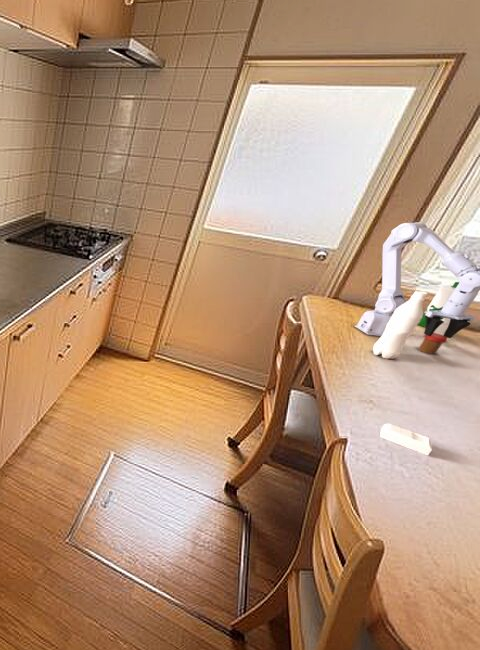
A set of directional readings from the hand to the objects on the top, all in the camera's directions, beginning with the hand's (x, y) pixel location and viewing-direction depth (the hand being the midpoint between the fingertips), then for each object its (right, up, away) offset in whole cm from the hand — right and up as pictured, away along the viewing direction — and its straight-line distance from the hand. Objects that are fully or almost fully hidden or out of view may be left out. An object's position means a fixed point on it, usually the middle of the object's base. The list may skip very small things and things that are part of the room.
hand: (436, 335), depth 157 cm
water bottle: (-23, -7, -3) cm, 25 cm away
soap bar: (-63, -28, -48) cm, 84 cm away
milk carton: (+27, +4, +26) cm, 38 cm away
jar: (0, -6, +3) cm, 7 cm away
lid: (0, 0, 0) cm, 0 cm away
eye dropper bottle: (+15, -1, +14) cm, 21 cm away
